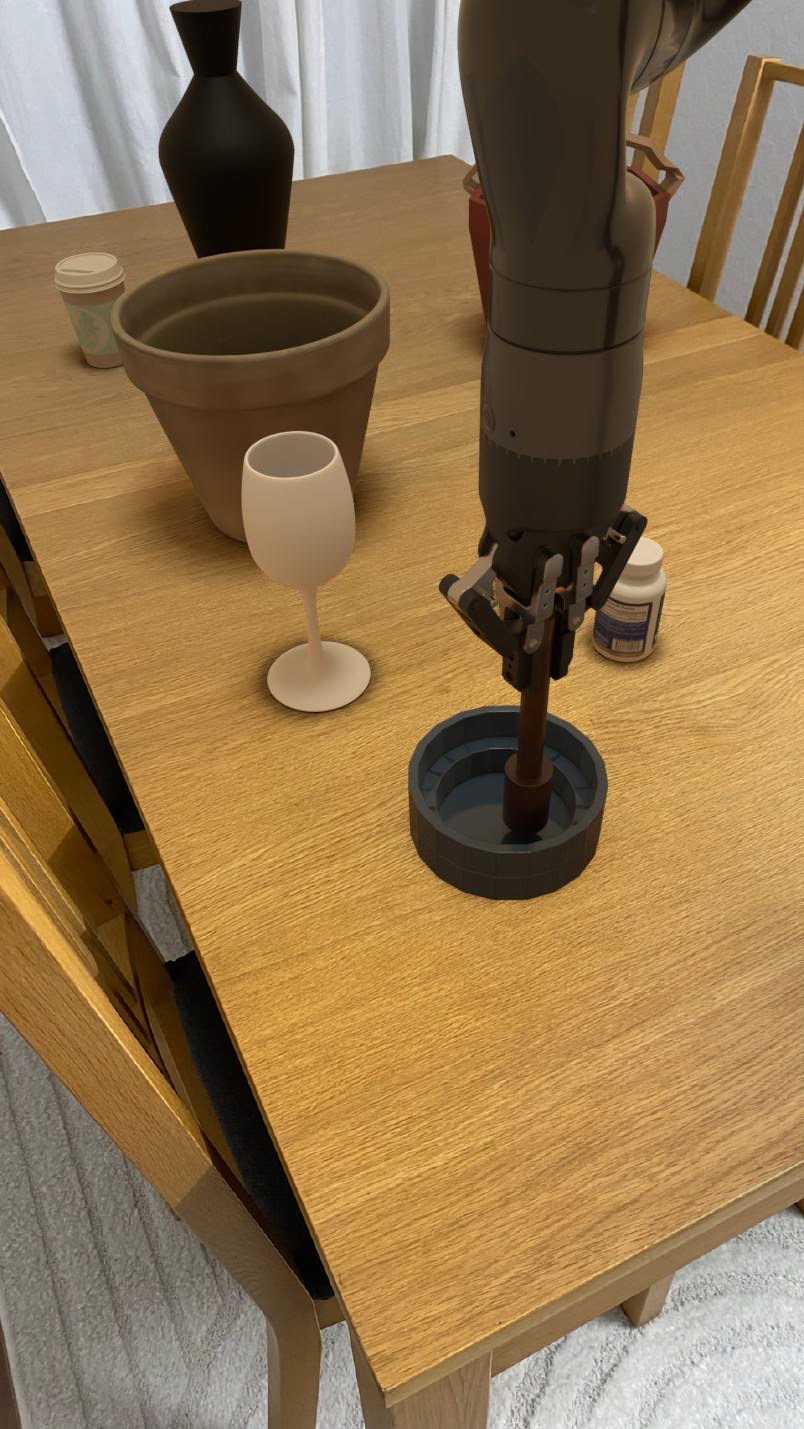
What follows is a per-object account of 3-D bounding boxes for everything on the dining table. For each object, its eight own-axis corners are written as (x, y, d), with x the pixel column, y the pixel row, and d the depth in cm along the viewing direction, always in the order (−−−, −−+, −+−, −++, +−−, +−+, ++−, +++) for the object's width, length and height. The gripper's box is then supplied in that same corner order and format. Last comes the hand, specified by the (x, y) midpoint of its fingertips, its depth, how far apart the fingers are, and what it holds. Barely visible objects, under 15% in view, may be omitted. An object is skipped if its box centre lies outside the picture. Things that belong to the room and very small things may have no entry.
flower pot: (139, 474, 108) (88, 270, 93) (352, 427, 114) (337, 228, 99) (188, 604, 92) (135, 381, 76) (435, 541, 97) (432, 322, 82)
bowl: (638, 844, 70) (649, 788, 66) (489, 942, 65) (492, 887, 61) (515, 736, 78) (519, 679, 74) (374, 815, 73) (369, 759, 69)
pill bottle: (619, 615, 88) (634, 522, 81) (668, 644, 85) (686, 550, 78) (578, 642, 86) (589, 549, 79) (626, 673, 83) (642, 578, 76)
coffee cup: (64, 358, 130) (37, 264, 121) (122, 338, 134) (99, 245, 125) (97, 379, 125) (71, 283, 117) (155, 358, 129) (134, 262, 121)
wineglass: (390, 666, 84) (378, 443, 70) (329, 727, 79) (301, 501, 65) (310, 631, 88) (282, 412, 73) (246, 687, 83) (202, 465, 68)
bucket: (675, 329, 130) (709, 111, 112) (619, 403, 116) (648, 168, 98) (502, 300, 138) (509, 94, 121) (431, 366, 125) (427, 144, 107)
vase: (200, 284, 146) (149, -6, 122) (315, 281, 145) (288, -11, 121) (176, 334, 134) (114, 23, 110) (302, 331, 133) (268, 17, 109)
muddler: (557, 820, 69) (581, 616, 56) (522, 842, 68) (538, 639, 55) (527, 792, 71) (543, 589, 58) (492, 813, 69) (501, 611, 57)
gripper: (496, 495, 43) (487, 766, 55) (715, 399, 48) (663, 665, 60) (396, 428, 47) (408, 693, 60) (607, 347, 53) (578, 605, 65)
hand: (536, 678), depth 60 cm, fingers closed on muddler
